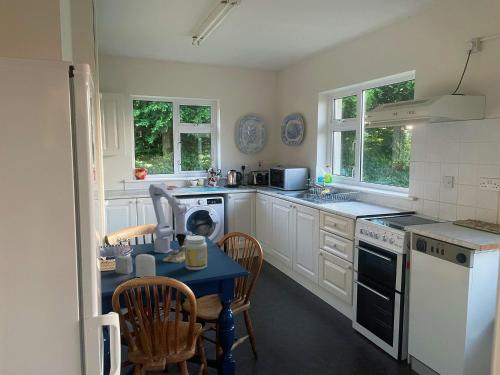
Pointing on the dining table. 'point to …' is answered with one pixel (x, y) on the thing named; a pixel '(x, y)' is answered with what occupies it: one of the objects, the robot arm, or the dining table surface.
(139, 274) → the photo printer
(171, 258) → the board
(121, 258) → the medicine box
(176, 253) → the plug
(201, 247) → the supplement tub
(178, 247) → the grey ball
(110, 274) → the dining table surface
